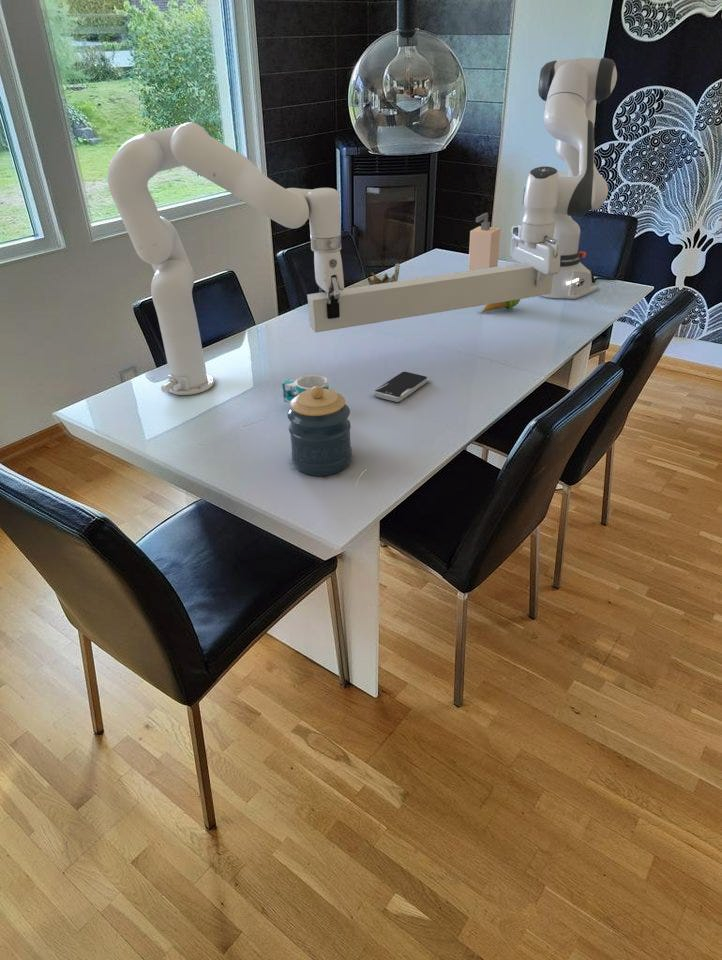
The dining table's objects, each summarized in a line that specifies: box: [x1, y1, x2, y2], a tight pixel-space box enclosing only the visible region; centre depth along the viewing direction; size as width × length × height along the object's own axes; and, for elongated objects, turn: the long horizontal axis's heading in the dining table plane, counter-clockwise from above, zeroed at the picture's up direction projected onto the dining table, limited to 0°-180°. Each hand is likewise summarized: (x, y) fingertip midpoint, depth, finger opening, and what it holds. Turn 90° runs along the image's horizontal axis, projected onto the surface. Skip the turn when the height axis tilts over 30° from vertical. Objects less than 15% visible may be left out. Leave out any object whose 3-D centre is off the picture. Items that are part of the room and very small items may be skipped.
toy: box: [481, 299, 521, 313], centre depth 221 cm, size 9×9×15 cm
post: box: [306, 262, 553, 333], centre depth 183 cm, size 71×5×9 cm, turn 110°
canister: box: [287, 386, 353, 476], centre depth 141 cm, size 13×13×18 cm
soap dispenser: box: [467, 212, 501, 271], centre depth 252 cm, size 13×9×22 cm
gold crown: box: [367, 263, 401, 285], centre depth 243 cm, size 9×15×10 cm
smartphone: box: [373, 371, 428, 403], centre depth 174 cm, size 8×1×15 cm
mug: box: [281, 374, 330, 404], centre depth 164 cm, size 8×12×8 cm
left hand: (330, 313), depth 175 cm, fingers closed on post, 5 cm apart
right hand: (532, 282), depth 192 cm, fingers closed on post, 5 cm apart
